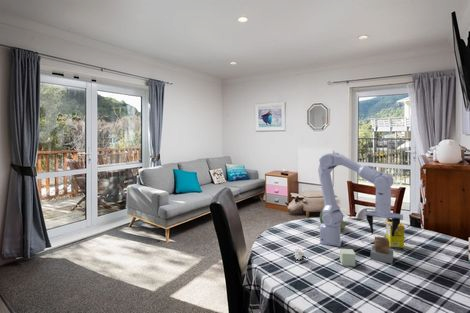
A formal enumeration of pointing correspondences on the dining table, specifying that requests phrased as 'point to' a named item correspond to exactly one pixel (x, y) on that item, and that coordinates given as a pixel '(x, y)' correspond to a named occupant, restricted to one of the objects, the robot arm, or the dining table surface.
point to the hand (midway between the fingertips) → (382, 234)
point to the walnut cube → (381, 245)
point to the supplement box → (395, 236)
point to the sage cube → (347, 257)
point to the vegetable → (323, 223)
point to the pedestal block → (382, 256)
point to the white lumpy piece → (298, 254)
